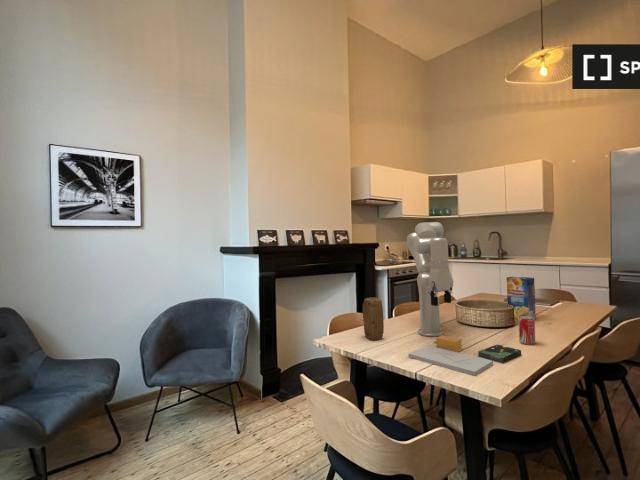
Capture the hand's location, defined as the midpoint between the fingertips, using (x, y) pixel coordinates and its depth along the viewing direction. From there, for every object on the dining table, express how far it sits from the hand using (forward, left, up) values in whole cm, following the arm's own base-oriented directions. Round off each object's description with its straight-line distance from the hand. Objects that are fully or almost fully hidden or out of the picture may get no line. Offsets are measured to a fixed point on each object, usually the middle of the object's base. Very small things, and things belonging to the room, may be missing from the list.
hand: (441, 304), depth 152 cm
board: (+12, +9, -20) cm, 25 cm away
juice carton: (-78, +5, -20) cm, 81 cm away
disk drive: (-7, +21, -21) cm, 31 cm away
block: (+8, -34, -20) cm, 40 cm away
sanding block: (-1, +2, -20) cm, 20 cm away
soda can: (-32, +23, -20) cm, 45 cm away
